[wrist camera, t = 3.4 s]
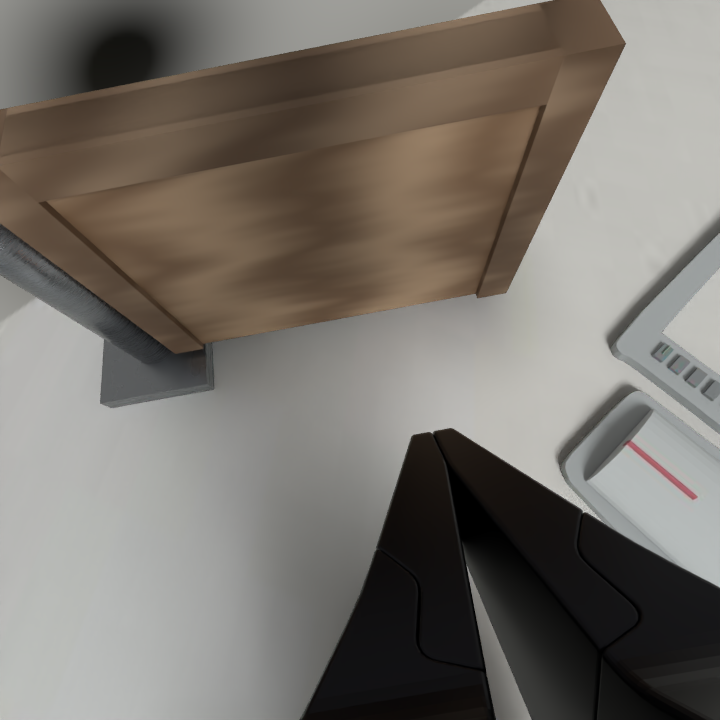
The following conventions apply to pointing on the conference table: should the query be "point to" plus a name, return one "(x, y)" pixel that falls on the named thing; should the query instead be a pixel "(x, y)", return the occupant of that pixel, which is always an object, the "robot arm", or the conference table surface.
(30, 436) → the conference table surface
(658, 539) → the office telephone
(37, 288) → the gate post
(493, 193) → the gate
